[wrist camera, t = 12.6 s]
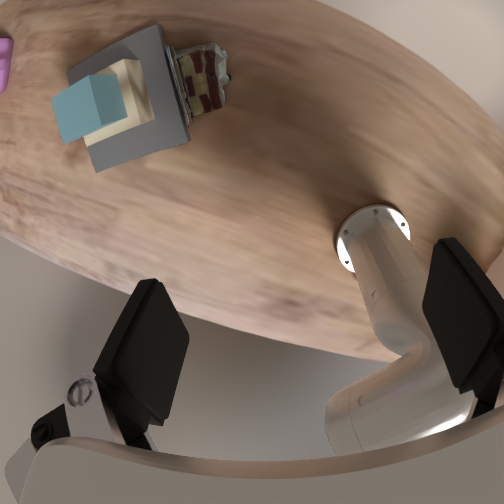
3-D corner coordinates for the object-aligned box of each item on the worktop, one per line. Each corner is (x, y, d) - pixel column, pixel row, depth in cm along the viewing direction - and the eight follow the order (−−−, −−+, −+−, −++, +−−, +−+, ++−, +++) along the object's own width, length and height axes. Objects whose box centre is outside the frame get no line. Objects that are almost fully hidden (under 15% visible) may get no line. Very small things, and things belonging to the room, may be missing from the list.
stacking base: (190, 140, 35) (177, 149, 30) (101, 170, 38) (80, 183, 33) (161, 25, 26) (142, 17, 21) (72, 71, 29) (47, 73, 24)
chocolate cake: (240, 119, 34) (237, 49, 22) (188, 133, 33) (168, 66, 22) (222, 77, 36) (216, 14, 24) (177, 89, 35) (160, 28, 24)
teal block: (128, 117, 28) (101, 125, 23) (91, 133, 29) (63, 144, 24) (116, 74, 25) (88, 75, 20) (80, 93, 26) (51, 99, 21)
